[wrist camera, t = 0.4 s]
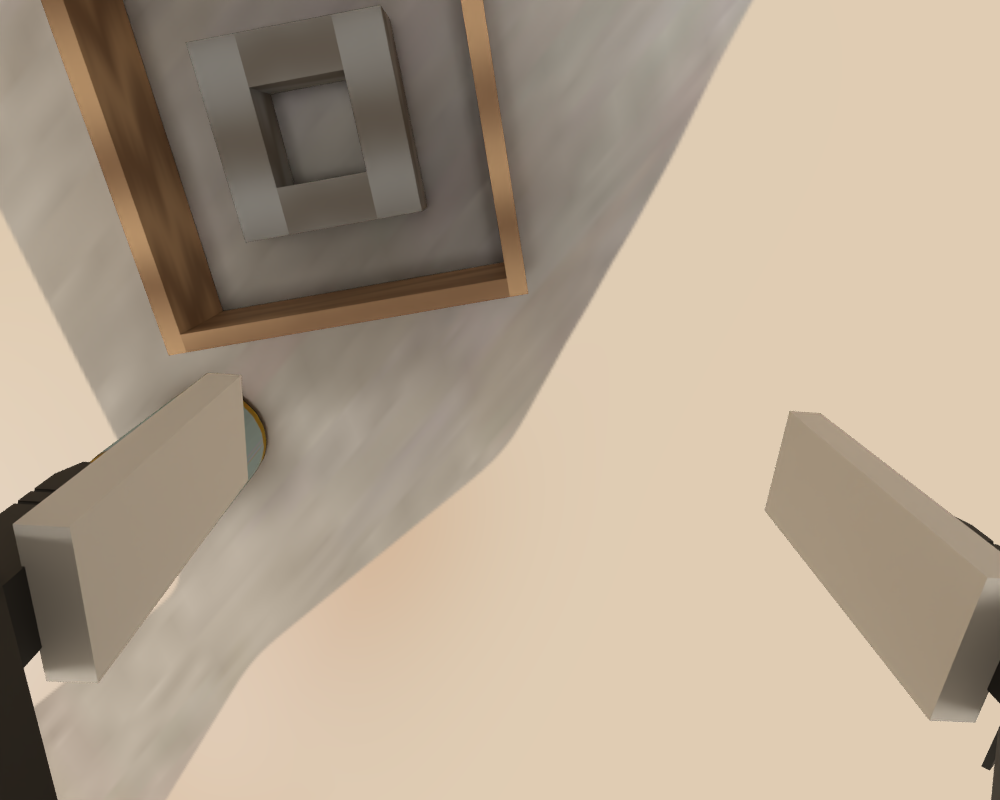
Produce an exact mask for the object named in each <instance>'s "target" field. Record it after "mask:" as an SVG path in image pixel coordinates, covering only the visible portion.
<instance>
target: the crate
mask: <svg viewBox="0 0 1000 800" xmlns="http://www.w3.org/2000/svg"><path fill="white" fill-rule="evenodd" d="M41 2H42V5H43V8H44V11H45V13H46V16H47V19H48V22H49V25H50V27H51V30H52V33H53V36H54V38H55V41H56V44H57V47H58V49H59V52H60V55H61V58H62V61H63V63H64V66H65V69H66V72H67V74H68V77H69V80H70V83H71V85H72V88H73V91H74V94H75V97H76V99H77V102H78V105H79V108H80V110H81V113H82V116H83V119H84V122H85V124H86V127H87V130H88V133H89V135H90V138H91V141H92V144H93V146H94V149H95V152H96V155H97V158H98V160H99V163H100V166H101V169H102V171H103V174H104V177H105V180H106V182H107V185H108V188H109V191H110V194H111V196H112V199H113V202H114V205H115V207H116V210H117V213H118V216H119V219H120V221H121V224H122V227H123V230H124V232H125V235H126V238H127V241H128V243H129V246H130V249H131V252H132V255H133V257H134V260H135V263H136V266H137V268H138V271H139V274H140V277H141V279H142V282H143V285H144V288H145V291H146V293H147V296H148V299H149V302H150V304H151V307H152V310H153V313H154V316H155V318H156V321H157V324H158V327H159V329H160V332H161V335H162V338H163V340H164V343H165V346H166V349H167V352H168V354H169V355H174V354H180V353H186V352H191V351H197V350H203V349H209V348H215V347H220V346H226V345H232V344H238V343H244V342H250V341H255V340H261V339H267V338H273V337H279V336H284V335H290V334H296V333H302V332H308V331H314V330H319V329H325V328H331V327H337V326H343V325H349V324H354V323H360V322H366V321H372V320H378V319H383V318H389V317H395V316H401V315H407V314H413V313H418V312H424V311H430V310H436V309H442V308H447V307H453V306H459V305H465V304H471V303H477V302H482V301H488V300H494V299H500V298H506V297H511V296H517V295H523V294H528V289H527V282H526V276H525V269H524V263H523V256H522V250H521V244H520V237H519V231H518V224H517V218H516V211H515V205H514V198H513V192H512V186H511V179H510V173H509V166H508V160H507V153H506V147H505V140H504V134H503V128H502V121H501V115H500V108H499V102H498V95H497V89H496V82H495V76H494V70H493V63H492V57H491V50H490V44H489V37H488V31H487V25H486V18H485V12H484V5H483V0H461V4H462V10H463V16H464V22H465V28H466V34H467V40H468V47H469V53H470V59H471V65H472V71H473V77H474V83H475V89H476V95H477V101H478V107H479V113H480V119H481V125H482V131H483V137H484V143H485V149H486V155H487V161H488V167H489V173H490V180H491V186H492V192H493V198H494V204H495V210H496V216H497V222H498V228H499V234H500V240H501V246H502V252H503V258H504V262H502V263H497V264H491V265H485V266H479V267H474V268H468V269H462V270H456V271H451V272H445V273H439V274H433V275H428V276H422V277H416V278H410V279H405V280H399V281H393V282H387V283H382V284H376V285H370V286H365V287H359V288H353V289H347V290H342V291H336V292H330V293H324V294H319V295H313V296H307V297H301V298H296V299H290V300H284V301H278V302H273V303H267V304H261V305H255V306H250V307H244V308H238V309H232V310H227V311H223V310H222V307H221V304H220V301H219V298H218V295H217V291H216V288H215V285H214V282H213V279H212V276H211V273H210V270H209V267H208V264H207V260H206V257H205V254H204V251H203V248H202V245H201V242H200V239H199V236H198V233H197V229H196V226H195V223H194V220H193V217H192V214H191V211H190V208H189V205H188V202H187V199H186V195H185V192H184V189H183V186H182V183H181V180H180V177H179V174H178V171H177V168H176V164H175V161H174V158H173V155H172V152H171V149H170V146H169V143H168V140H167V137H166V133H165V130H164V127H163V124H162V121H161V118H160V115H159V112H158V109H157V106H156V102H155V99H154V96H153V93H152V90H151V87H150V84H149V81H148V78H147V75H146V71H145V68H144V65H143V62H142V59H141V56H140V53H139V50H138V47H137V44H136V40H135V37H134V34H133V31H132V28H131V25H130V22H129V19H128V16H127V13H126V10H125V6H124V3H123V0H41ZM186 45H187V48H188V52H189V55H190V58H191V62H192V65H193V68H194V72H195V75H196V78H197V82H198V85H199V88H200V92H201V95H202V98H203V102H204V105H205V109H206V112H207V115H208V119H209V122H210V125H211V129H212V132H213V135H214V139H215V142H216V145H217V149H218V152H219V155H220V159H221V162H222V165H223V169H224V172H225V175H226V179H227V182H228V185H229V189H230V192H231V195H232V199H233V202H234V205H235V209H236V212H237V215H238V219H239V222H240V225H241V229H242V232H243V235H244V239H245V242H246V243H247V242H252V241H258V240H263V239H269V238H275V237H280V236H286V235H291V234H297V233H303V232H308V231H314V230H320V229H325V228H331V227H336V226H342V225H348V224H353V223H359V222H364V221H370V220H376V219H381V218H387V217H392V216H398V215H404V214H409V213H415V212H420V211H423V210H424V209H426V208H427V202H426V197H425V192H424V187H423V182H422V177H421V172H420V167H419V162H418V157H417V152H416V147H415V142H414V137H413V132H412V127H411V122H410V117H409V112H408V107H407V102H406V97H405V92H404V87H403V82H402V77H401V72H400V67H399V62H398V57H397V52H396V47H395V42H394V37H393V32H392V27H391V22H390V19H389V17H388V16H387V15H386V13H385V12H384V10H383V9H382V7H381V6H380V5H378V6H372V7H367V8H362V9H357V10H352V11H346V12H341V13H336V14H331V15H326V16H320V17H315V18H310V19H305V20H300V21H294V22H289V23H284V24H279V25H274V26H269V27H263V28H258V29H253V30H248V31H243V32H237V33H232V34H227V35H222V36H217V37H211V38H206V39H201V40H196V41H191V42H186ZM344 80H346V83H347V87H348V92H349V96H350V100H351V105H352V109H353V114H354V118H355V122H356V127H357V131H358V136H359V140H360V144H361V149H362V153H363V158H364V162H365V166H366V171H367V172H363V173H357V174H352V175H346V176H341V177H335V178H330V179H324V180H319V181H313V182H308V183H302V184H297V185H294V182H293V178H292V174H291V170H290V167H289V163H288V159H287V155H286V152H285V148H284V144H283V140H282V136H281V133H280V129H279V125H278V121H277V118H276V114H275V110H274V106H273V103H272V99H271V95H270V94H275V93H280V92H285V91H290V90H296V89H301V88H306V87H312V86H317V85H322V84H328V83H333V82H338V81H344Z"/></svg>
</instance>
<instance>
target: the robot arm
mask: <svg viewBox="0 0 1000 800" xmlns="http://www.w3.org/2000/svg"><path fill="white" fill-rule="evenodd" d="M247 481H248V469H247V454H246V440H245V425H244V410H243V395H242V380H241V375H233V374H218V373H207V374H206V375H204V376H203V377H202V378H201V379H199V380H198V381H197V382H195V383H194V384H193V385H191V386H190V387H189V388H188V389H186V390H185V391H184V392H182V393H181V394H180V395H179V396H177V397H176V398H175V399H173V400H172V401H171V402H170V403H168V404H167V405H166V406H164V407H163V408H162V409H161V410H159V411H158V412H157V413H155V414H154V415H153V416H151V417H150V418H149V419H148V420H146V421H145V422H144V423H142V424H141V425H140V426H139V427H137V428H136V429H135V430H133V431H132V432H131V433H130V434H128V435H127V436H126V437H124V438H123V439H122V440H120V441H119V442H118V443H117V444H115V445H114V446H113V447H111V448H110V449H109V450H108V451H106V452H105V453H104V454H102V455H101V456H100V457H99V458H97V459H96V460H95V461H93V462H82V463H79V464H77V465H74V466H72V467H70V468H67V469H65V470H62V471H61V472H58V473H55V474H54V475H53V476H51V477H50V478H48V479H47V480H45V481H44V482H43V483H41V484H40V485H39V486H37V487H36V488H35V491H31V492H29V493H28V494H26V495H25V496H24V497H22V498H21V499H20V500H18V504H13V505H11V506H10V507H9V508H7V509H6V510H5V511H3V512H2V513H0V800H57V796H56V792H55V788H54V784H53V780H52V776H51V773H50V769H49V765H48V761H47V757H46V753H45V749H44V745H43V742H42V738H41V734H40V730H39V726H38V722H37V718H36V715H35V711H34V707H33V703H32V699H31V695H30V691H29V687H28V684H27V680H26V676H25V672H24V667H25V666H26V665H27V664H28V662H29V661H30V660H31V659H32V658H33V657H34V656H35V655H36V654H37V653H38V651H39V650H40V654H41V659H42V663H43V668H44V672H45V676H46V681H56V682H77V683H99V681H100V680H101V679H102V677H103V676H104V675H105V673H106V672H107V671H108V669H109V668H110V666H111V665H112V664H113V662H114V661H115V660H116V658H117V657H118V656H119V654H120V653H121V652H122V650H123V649H124V648H125V646H126V645H127V643H128V642H129V641H130V639H131V638H132V637H133V635H134V634H135V633H136V631H137V630H138V629H139V627H140V626H141V624H142V623H143V622H144V620H145V619H146V618H147V616H148V615H149V614H150V612H151V611H152V610H153V608H154V607H155V606H156V604H157V603H158V601H159V600H160V599H161V597H162V596H163V595H164V593H165V592H166V591H167V589H168V588H169V586H170V585H171V584H172V583H173V581H174V580H175V578H176V577H177V576H178V574H179V573H180V572H181V570H182V569H183V568H184V566H185V565H186V564H187V562H188V561H189V559H190V558H191V557H192V555H193V554H194V553H195V551H196V550H197V549H198V547H199V546H200V545H201V543H202V542H203V541H204V539H205V538H206V536H207V535H208V534H209V532H210V531H211V530H212V528H213V527H214V526H215V524H216V523H217V522H218V520H219V519H220V518H221V516H222V515H223V513H224V512H225V511H226V509H227V508H228V507H229V505H230V504H231V503H232V501H233V500H234V499H235V497H236V496H237V495H238V493H239V492H240V490H241V489H242V488H243V486H244V485H245V484H246V482H247ZM765 511H766V513H767V514H768V515H769V517H770V518H771V519H772V520H773V522H774V523H775V524H776V525H777V526H778V528H779V529H780V531H781V532H782V533H783V534H784V536H785V537H786V538H787V540H789V542H790V543H791V545H792V546H793V547H794V548H795V550H796V551H797V552H798V554H799V555H800V556H801V557H802V559H803V560H804V561H805V562H806V564H807V565H808V566H809V568H810V569H811V570H812V571H813V573H814V574H815V575H816V576H817V578H818V579H819V580H820V582H821V583H822V584H823V585H824V587H825V588H826V589H827V590H828V592H829V593H830V594H831V596H832V597H833V598H834V599H835V601H836V602H837V603H838V604H839V606H840V607H841V608H842V610H843V611H844V612H845V613H846V614H847V616H848V617H849V618H850V620H851V621H852V622H853V624H854V625H855V626H856V627H857V629H858V630H859V631H860V632H861V634H862V635H863V636H864V638H865V639H866V640H867V641H868V643H869V644H870V645H871V647H872V648H873V649H874V650H875V652H876V653H877V654H878V655H879V656H880V658H881V659H882V660H883V662H884V663H885V664H886V666H887V667H888V668H889V669H890V671H891V672H892V673H893V675H894V676H895V677H896V678H897V680H898V681H899V682H900V683H901V685H902V686H903V687H904V689H905V690H906V691H907V692H908V694H909V695H910V696H911V698H912V699H913V700H914V701H915V703H916V704H917V705H918V706H919V708H920V709H921V710H922V712H923V713H924V714H925V715H926V717H927V718H928V719H929V720H932V721H953V722H976V719H977V717H978V715H979V713H980V710H981V708H982V706H983V703H984V701H985V699H986V697H987V694H988V692H990V693H991V694H992V696H993V697H994V698H996V700H997V701H998V702H999V703H1000V546H999V545H996V544H993V541H992V540H991V539H990V538H988V537H987V536H986V535H984V534H983V533H982V532H980V531H979V530H978V529H976V528H975V527H974V526H972V525H970V524H968V523H967V522H965V521H962V520H961V519H959V518H957V517H955V516H953V515H952V514H951V513H949V512H948V511H947V510H945V509H944V508H943V507H942V506H940V505H939V504H938V503H936V502H935V501H934V500H932V499H931V498H930V497H928V496H927V495H926V494H925V493H923V492H922V491H921V490H919V489H918V488H917V487H915V486H914V485H913V484H912V483H910V482H909V481H908V480H906V479H905V478H904V477H903V476H901V475H900V474H898V473H897V472H896V471H895V470H894V469H892V468H891V467H890V466H888V465H887V464H886V463H884V462H883V461H882V460H880V459H879V458H878V457H876V456H875V455H874V454H873V453H871V452H870V451H869V450H867V449H866V448H865V447H864V446H862V445H861V444H860V443H858V442H857V441H856V440H855V439H853V438H852V437H851V436H849V435H848V434H847V433H845V432H844V431H843V430H842V429H840V428H839V427H838V426H836V425H835V424H834V423H832V422H831V421H830V420H829V419H827V418H826V417H824V416H823V415H822V414H821V413H809V412H794V411H790V412H789V416H788V420H787V424H786V427H785V432H784V436H783V439H782V444H781V447H780V451H779V455H778V459H777V463H776V467H775V472H774V475H773V479H772V483H771V487H770V491H769V495H768V499H767V503H766V507H765ZM994 764H995V767H994V777H993V787H992V797H991V800H1000V727H999V729H998V731H997V734H996V736H995V738H994V740H993V742H992V744H991V747H990V749H989V751H988V753H987V755H986V757H985V760H984V762H983V764H982V767H984V768H986V769H988V770H990V769H991V768H992V767H993V765H994Z"/></svg>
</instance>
